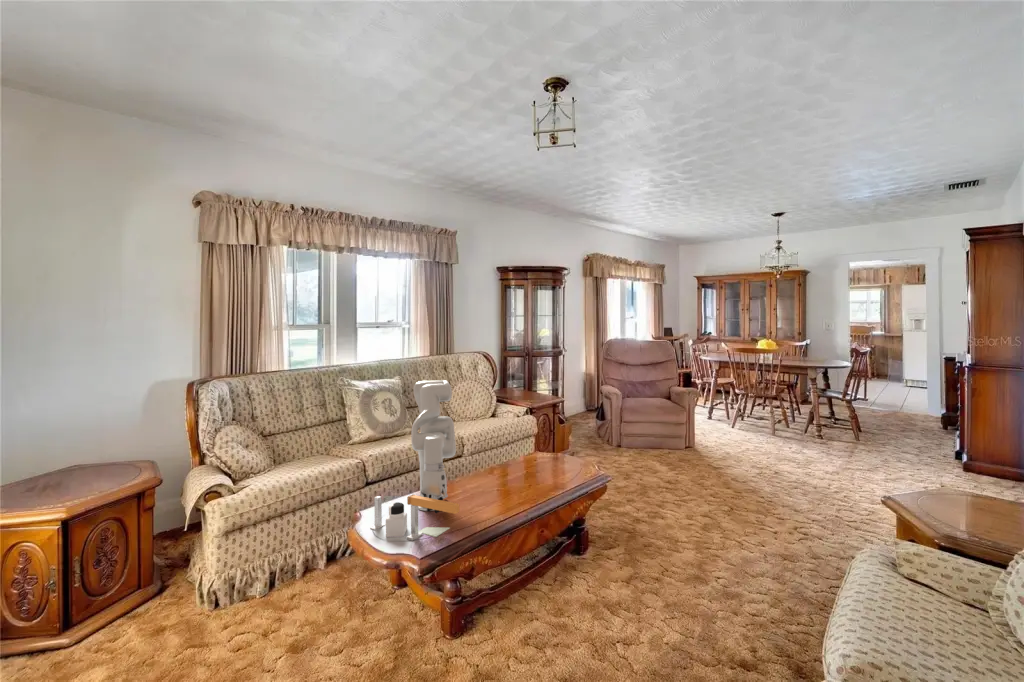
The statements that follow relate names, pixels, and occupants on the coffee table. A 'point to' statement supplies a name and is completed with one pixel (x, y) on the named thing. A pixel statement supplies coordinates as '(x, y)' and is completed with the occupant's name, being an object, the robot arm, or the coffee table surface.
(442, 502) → the bar
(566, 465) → the coffee table surface
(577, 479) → the coffee table surface
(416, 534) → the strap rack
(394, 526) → the medicine bottle
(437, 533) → the coaster
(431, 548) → the coffee table surface
